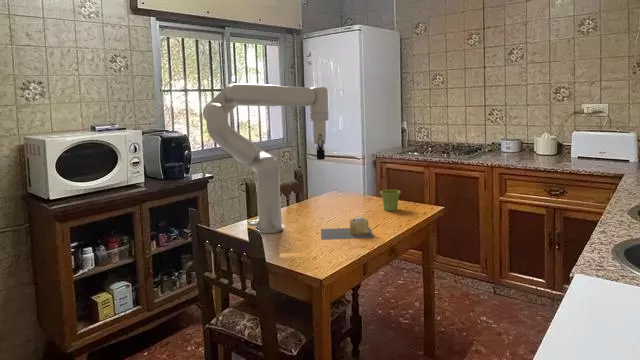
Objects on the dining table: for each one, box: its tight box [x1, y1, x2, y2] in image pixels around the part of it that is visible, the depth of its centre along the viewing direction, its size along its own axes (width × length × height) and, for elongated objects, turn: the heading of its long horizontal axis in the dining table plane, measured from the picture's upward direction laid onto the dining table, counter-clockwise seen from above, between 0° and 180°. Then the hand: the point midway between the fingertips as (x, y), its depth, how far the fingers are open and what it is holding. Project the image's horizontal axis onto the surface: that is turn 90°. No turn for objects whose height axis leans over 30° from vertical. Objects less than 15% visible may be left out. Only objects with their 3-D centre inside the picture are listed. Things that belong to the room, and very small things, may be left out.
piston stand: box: [320, 216, 375, 241], centre depth 198 cm, size 20×14×7 cm
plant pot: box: [379, 189, 401, 212], centre depth 237 cm, size 9×9×9 cm
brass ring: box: [349, 217, 369, 236], centre depth 198 cm, size 7×7×5 cm
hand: (320, 157), depth 214 cm, fingers open, 9 cm apart
